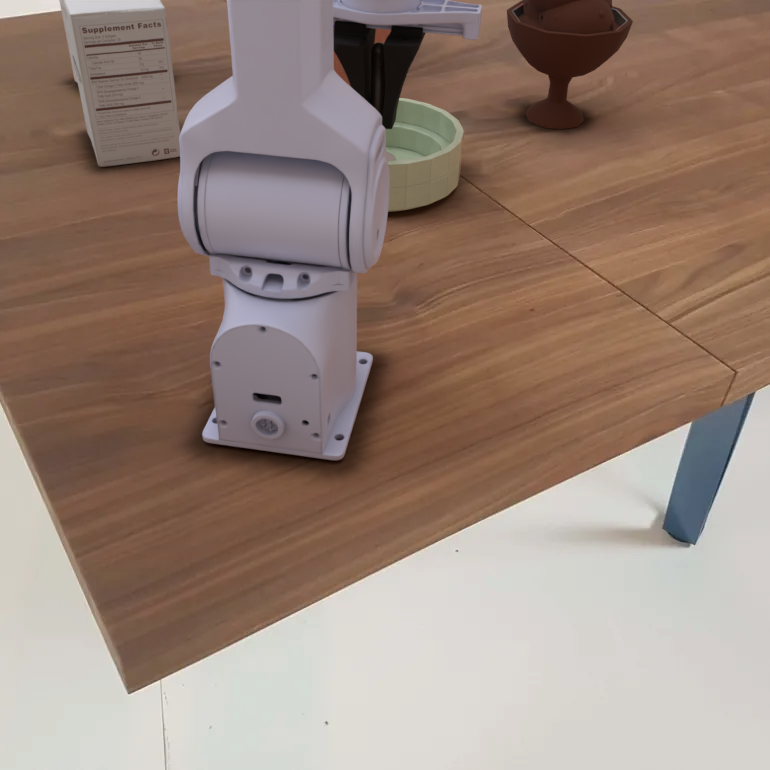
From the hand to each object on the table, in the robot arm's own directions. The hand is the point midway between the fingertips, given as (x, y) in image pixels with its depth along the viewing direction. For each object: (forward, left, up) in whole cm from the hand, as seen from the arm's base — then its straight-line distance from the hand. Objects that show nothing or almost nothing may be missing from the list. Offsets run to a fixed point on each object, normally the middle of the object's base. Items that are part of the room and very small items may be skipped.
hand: (378, 122), depth 72 cm
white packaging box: (+3, +22, -6) cm, 23 cm away
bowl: (+1, 0, -6) cm, 6 cm away
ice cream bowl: (+18, -14, -6) cm, 23 cm away
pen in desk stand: (0, 0, -4) cm, 4 cm away
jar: (+17, +29, -6) cm, 34 cm away
